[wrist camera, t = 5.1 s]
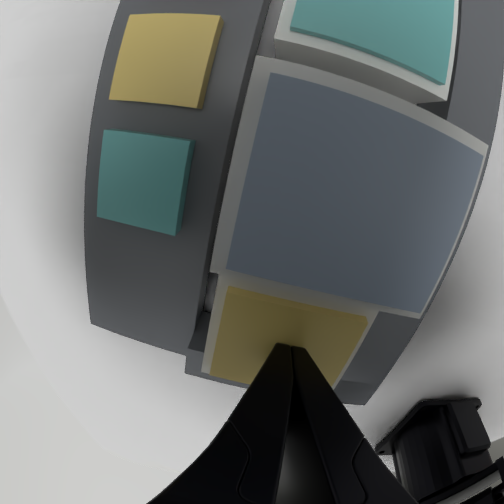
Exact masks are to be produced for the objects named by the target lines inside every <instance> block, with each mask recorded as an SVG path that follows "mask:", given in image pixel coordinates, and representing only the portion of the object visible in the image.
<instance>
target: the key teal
mask: <svg viewBox="0 0 504 504" xmlns="http://www.w3.org/2000/svg"><path fill="white" fill-rule="evenodd" d="M458 3H459V0H284V2H283V6H282V9H281V13H280V17H279V20H278V24H277V28H276V32H275V35H274V47H275V58H276V59H279V60H284V61H288V62H293V63H297V64H301V65H305V66H308V67H312V68H316V69H319V70H323V71H326V72H330V73H333V74H336V75H339V76H342V77H345V78H348V79H351V80H354V81H357V82H360V83H363V84H366V85H368V86H371V87H374V88H376V89H379V90H381V91H384V92H386V93H389V94H391V95H394V96H396V97H398V98H401V99H403V100H405V101H408V102H410V103H412V104H419V103H429V102H440V101H447V98H448V92H449V87H450V81H451V75H452V68H453V61H454V54H455V45H456V35H457V23H458Z"/></svg>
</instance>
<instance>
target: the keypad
mask: <svg viewBox="0 0 504 504" xmlns="http://www.w3.org/2000/svg"><path fill="white" fill-rule="evenodd" d="M270 1H271V0H121V1H120V4H119V7H118V9H117V13H116V16H115V19H114V22H113V25H112V28H111V32H110V35H109V39H108V42H107V46H106V50H105V54H104V58H103V62H102V67H101V71H100V76H99V80H98V85H97V90H96V96H95V102H94V108H93V114H92V121H91V128H90V136H89V145H88V154H87V166H86V181H85V206H84V240H85V266H86V281H87V293H88V303H89V312H90V320H91V324H93V325H96V326H98V327H101V328H104V329H106V330H109V331H112V332H114V333H117V334H120V335H123V336H126V337H128V338H131V339H134V340H137V341H140V342H143V343H146V344H149V345H152V346H156V347H159V348H162V349H165V350H168V351H172V352H175V353H179V354H182V355H185V356H187V357H186V365H185V373H186V374H190V375H193V376H197V377H201V378H205V379H209V380H212V381H216V382H221V383H225V384H229V385H233V386H238V387H242V388H247V389H248V387H249V386H250V384H245V383H240V382H236V381H232V380H227V379H223V378H219V377H215V376H211V375H209V374H207V373H203V372H201V368H202V363H203V357H204V351H205V346H206V340H207V334H208V329H209V323H210V318H211V313H208V312H204V311H203V304H204V299H205V293H206V287H207V281H208V275H209V270H210V264H211V258H212V253H213V248H214V242H215V237H216V232H217V226H218V221H219V216H220V211H221V206H222V201H223V196H224V191H225V186H226V181H227V177H228V172H229V167H230V162H231V158H232V153H233V149H234V144H235V140H236V135H237V131H238V126H239V122H240V118H241V113H242V109H243V105H244V101H245V96H246V92H247V88H248V84H249V80H250V76H251V72H252V68H253V64H254V60H255V56H256V52H257V49H258V45H259V41H260V37H261V33H262V30H263V26H264V22H265V19H266V15H267V12H268V8H269V4H270ZM503 71H504V0H459V3H458V23H457V35H456V45H455V54H454V61H453V68H452V75H451V81H450V87H449V92H448V98H447V101H440V102H429V103H419V104H417V105H416V106H418V107H421V108H423V109H425V110H427V111H429V112H431V113H433V114H435V115H437V116H439V117H441V118H443V119H444V120H446V121H448V122H450V123H452V124H454V125H455V126H457V127H459V128H461V129H463V130H464V131H466V132H468V133H469V134H471V135H473V136H474V137H476V138H478V139H479V140H481V141H482V142H484V143H486V144H487V145H489V146H488V150H487V154H486V158H485V162H484V166H483V169H482V173H481V176H480V180H479V183H478V186H477V189H476V192H475V196H474V199H473V202H472V204H471V207H470V210H469V213H468V216H467V218H466V221H465V224H464V226H463V229H462V232H461V234H460V237H459V239H458V241H457V244H456V246H455V249H454V251H453V253H452V256H451V258H450V260H449V262H448V264H447V267H446V269H445V271H444V273H443V275H442V277H441V279H440V281H439V283H438V285H437V287H436V289H435V291H434V293H433V295H432V297H431V299H430V301H429V303H428V305H427V307H426V308H425V310H424V312H423V314H422V316H421V317H420V319H417V318H412V317H407V316H402V315H397V314H392V313H387V312H382V311H379V312H378V314H377V316H376V318H375V320H374V322H373V324H372V325H371V327H370V329H369V331H368V333H367V335H366V337H365V338H364V340H363V342H362V344H361V345H360V347H359V349H358V351H357V352H356V354H355V356H354V358H353V359H352V361H351V363H350V364H349V366H348V368H347V369H346V371H345V373H344V374H343V376H342V378H341V379H340V381H339V382H338V384H337V385H336V387H335V389H334V392H335V393H336V395H337V396H338V398H339V399H340V401H341V402H342V403H344V404H354V405H365V404H366V403H367V402H368V400H369V399H370V398H371V396H372V395H373V394H374V392H375V391H376V390H377V388H378V387H379V386H380V384H381V383H382V382H383V380H384V379H385V377H386V376H387V374H388V373H389V372H390V370H391V369H392V367H393V366H394V364H395V363H396V361H397V360H398V358H399V357H400V355H401V354H402V352H403V351H404V349H405V348H406V346H407V344H408V343H409V341H410V339H411V338H412V336H413V335H414V333H415V331H416V330H417V328H418V326H419V324H420V323H421V321H422V319H423V317H424V316H425V314H426V312H427V310H428V309H429V307H430V305H431V303H432V301H433V299H434V297H435V295H436V293H437V292H438V290H439V288H440V286H441V284H442V282H443V280H444V277H445V275H446V273H447V271H448V269H449V267H450V265H451V263H452V260H453V258H454V256H455V254H456V251H457V249H458V247H459V244H460V242H461V239H462V237H463V234H464V232H465V229H466V227H467V224H468V221H469V219H470V216H471V213H472V211H473V208H474V205H475V202H476V199H477V196H478V193H479V190H480V186H481V183H482V180H483V176H484V173H485V169H486V166H487V162H488V158H489V154H490V150H491V146H492V141H493V137H494V132H495V127H496V122H497V117H498V111H499V104H500V98H501V90H502V81H503Z"/></svg>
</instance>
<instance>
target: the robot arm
mask: <svg viewBox="0 0 504 504" xmlns="http://www.w3.org/2000/svg"><path fill="white" fill-rule="evenodd" d="M481 405H482V403H481V401H480V399H472V400H427V401H423V402H421V403H419V404H418V405H417V406H416V407H415V408H414V409H413V410H412V412H411V413H410V414H409V415H408V416H407V417H406V418H405V419H404V420H403V421H402V422H401V423H400V424H399V426H398V427H397V428H396V429H395V430H394V431H393V432H392V433H391V434H390V435H389V436H388V437H387V438H386V439H385V440H384V441H383V442H382V443H380V444H379V445H378V446H377V447H376V448H375V451H374V449H373V448H372V447H371V445H370V444H369V442H368V441H367V439H366V438H364V435H363V433H362V432H361V430H360V429H359V427H358V426H357V425H356V423H355V422H354V420H353V419H352V417H351V416H350V414H349V413H348V411H347V410H346V408H345V407H344V405H343V404H342V402H341V401H340V399H339V398H338V396H337V395H336V393H335V392H334V390H333V389H332V387H331V386H330V384H329V383H328V381H327V380H326V378H325V377H324V375H323V374H322V372H321V371H320V369H319V368H318V366H317V365H316V363H315V362H314V360H313V359H312V357H311V356H310V354H309V353H308V351H307V350H306V349H305V348H303V347H298V346H291V347H290V345H288V344H283V343H279V342H277V343H276V344H275V345H274V347H273V349H272V350H271V352H270V354H269V355H268V357H267V359H266V360H265V362H264V363H263V365H262V367H261V368H260V370H259V372H258V373H257V375H256V376H255V378H254V380H253V381H252V383H251V384H250V386H249V387H248V389H247V391H246V392H245V394H244V395H243V397H242V398H241V400H240V401H239V403H238V405H237V406H236V408H235V409H234V411H233V412H232V414H231V415H230V417H229V418H228V420H227V422H225V424H224V425H223V427H222V428H221V430H220V431H219V433H218V434H217V435H216V437H215V438H214V439H213V441H212V442H211V443H210V444H209V446H208V447H207V448H206V449H205V450H204V451H203V452H202V453H201V455H200V456H199V457H198V458H197V459H196V460H195V461H194V462H193V463H192V464H191V465H190V466H189V467H188V468H187V469H186V470H185V471H183V472H182V473H181V474H180V475H179V476H178V477H177V478H176V479H175V480H174V481H173V482H172V483H171V484H170V485H168V486H167V487H166V488H165V489H164V490H163V491H162V492H161V493H159V494H158V495H157V496H156V497H154V498H153V499H152V500H151V501H149V502H148V503H147V504H456V503H458V502H460V501H462V500H464V499H466V498H468V497H470V496H472V495H473V494H475V493H477V492H479V491H480V490H482V489H484V488H486V487H488V486H489V485H491V484H492V483H494V482H496V481H497V480H499V479H501V480H502V483H501V484H499V485H498V486H496V487H494V488H493V489H492V488H491V487H489V488H487V489H486V490H484V491H482V492H480V493H479V494H477V495H475V496H473V497H471V498H470V499H468V500H466V501H464V502H462V503H460V504H504V458H503V456H502V457H500V458H499V459H497V460H496V461H495V463H493V462H492V460H491V457H490V454H489V452H488V448H489V447H490V445H491V442H490V440H489V437H488V435H487V432H486V430H485V428H484V425H483V423H482V421H481V418H480V416H479V414H478V412H477V410H478V409H479V408H480V407H481ZM378 455H392V456H393V461H394V466H395V472H396V477H397V479H396V478H395V476H394V475H393V474H392V473H391V472H390V470H389V469H388V468H387V467H386V465H385V464H384V463H383V462H382V460H381V459H380V458H379V456H378Z"/></svg>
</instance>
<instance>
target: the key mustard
mask: <svg viewBox="0 0 504 504" xmlns="http://www.w3.org/2000/svg"><path fill="white" fill-rule="evenodd" d="M378 312H379V311H377V310H372V309H368V308H363V307H358V306H353V305H349V304H344V303H340V302H335V301H331V300H326V299H322V298H317V297H313V296H308V295H304V294H300V293H295V292H291V291H287V290H282V289H278V288H274V287H270V286H266V285H261V284H257V283H253V282H249V281H245V280H241V279H237V278H233V277H229V276H225V275H221V274H219V276H218V281H217V286H216V291H215V297H214V302H213V307H212V313H211V318H210V323H209V329H208V334H207V340H206V346H205V351H204V357H203V363H202V368H201V372H203V373H207V374H209V375H211V376H215V377H219V378H223V379H227V380H232V381H236V382H240V383H245V384H251V383H252V381H253V380H254V378H255V376H256V375H257V373H258V372H259V370H260V368H261V367H262V365H263V363H264V362H265V360H266V359H267V357H268V355H269V354H270V352H271V350H272V349H273V347H274V345H275V344H276V343H277V342H279V343H283V344H288V345H290V347H291V346H298V347H303V348H305V349H306V350H307V351H308V353H309V354H310V356H311V357H312V359H313V360H314V362H315V363H316V365H317V366H318V368H319V369H320V371H321V372H322V374H323V375H324V377H325V378H326V380H327V381H328V383H329V384H330V386H331V387H332V389H333V390H334V389H335V387H336V385H337V384H338V382H339V381H340V379H341V378H342V376H343V374H344V373H345V371H346V369H347V368H348V366H349V364H350V363H351V361H352V359H353V358H354V356H355V354H356V352H357V351H358V349H359V347H360V345H361V344H362V342H363V340H364V338H365V337H366V335H367V333H368V331H369V329H370V327H371V325H372V324H373V322H374V320H375V318H376V316H377V314H378Z"/></svg>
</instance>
